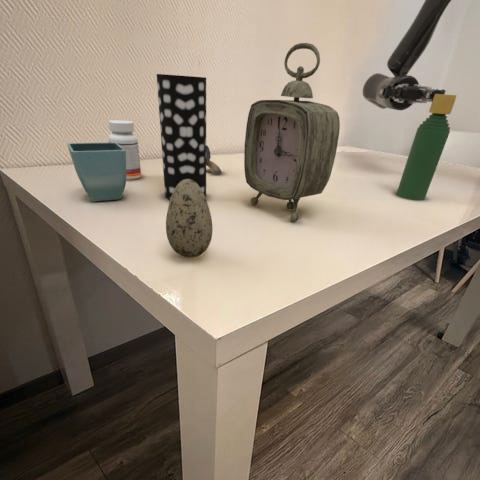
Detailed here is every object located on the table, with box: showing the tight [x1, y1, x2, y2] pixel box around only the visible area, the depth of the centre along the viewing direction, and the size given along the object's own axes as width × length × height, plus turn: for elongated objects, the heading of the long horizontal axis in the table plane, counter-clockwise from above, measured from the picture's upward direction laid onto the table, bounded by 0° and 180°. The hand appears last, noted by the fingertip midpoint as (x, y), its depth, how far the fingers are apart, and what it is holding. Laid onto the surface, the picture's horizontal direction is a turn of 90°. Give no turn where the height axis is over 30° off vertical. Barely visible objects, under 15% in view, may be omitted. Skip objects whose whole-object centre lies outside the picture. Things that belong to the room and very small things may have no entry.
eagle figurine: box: [206, 144, 223, 176], centre depth 86 cm, size 8×7×9 cm
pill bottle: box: [108, 119, 142, 181], centre depth 75 cm, size 6×6×11 cm
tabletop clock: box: [243, 42, 341, 223], centre depth 57 cm, size 14×9×25 cm, turn 40°
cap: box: [428, 93, 457, 115], centre depth 68 cm, size 4×4×3 cm
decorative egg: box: [165, 179, 213, 259], centre depth 42 cm, size 6×6×10 cm
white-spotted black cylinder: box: [156, 73, 207, 201], centre depth 62 cm, size 8×8×20 cm
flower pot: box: [66, 142, 127, 202], centre depth 62 cm, size 9×9×9 cm
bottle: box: [396, 113, 451, 201], centre depth 73 cm, size 6×6×20 cm
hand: (422, 94), depth 77 cm, fingers open, 8 cm apart
